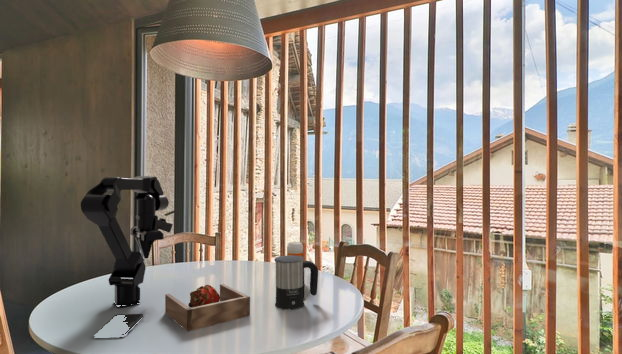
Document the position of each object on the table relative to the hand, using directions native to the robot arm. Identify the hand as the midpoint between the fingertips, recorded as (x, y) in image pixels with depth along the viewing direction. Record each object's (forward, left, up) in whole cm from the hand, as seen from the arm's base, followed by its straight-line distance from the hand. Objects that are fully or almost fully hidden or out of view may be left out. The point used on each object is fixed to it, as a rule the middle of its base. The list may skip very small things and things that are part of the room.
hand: (146, 258), depth 133 cm
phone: (-14, -27, -13) cm, 33 cm away
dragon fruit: (+8, -29, -12) cm, 33 cm away
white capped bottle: (+48, -21, -12) cm, 54 cm away
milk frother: (+34, -37, -12) cm, 52 cm away
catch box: (+8, -32, -12) cm, 35 cm away
